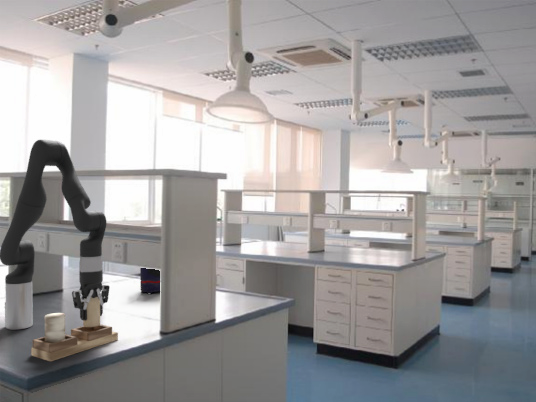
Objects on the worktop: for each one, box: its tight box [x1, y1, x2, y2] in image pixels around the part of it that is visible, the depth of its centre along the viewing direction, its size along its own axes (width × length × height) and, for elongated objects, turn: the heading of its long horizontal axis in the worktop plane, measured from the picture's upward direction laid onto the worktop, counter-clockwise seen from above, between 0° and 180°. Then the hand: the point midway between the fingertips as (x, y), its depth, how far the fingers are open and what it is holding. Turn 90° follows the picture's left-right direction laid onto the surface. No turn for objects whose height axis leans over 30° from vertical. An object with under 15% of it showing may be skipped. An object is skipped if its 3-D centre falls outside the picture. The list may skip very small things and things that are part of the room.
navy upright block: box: [139, 268, 161, 294], centre depth 254 cm, size 14×12×30 cm
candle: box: [82, 297, 101, 327], centre depth 169 cm, size 6×6×10 cm
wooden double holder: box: [31, 312, 119, 362], centre depth 164 cm, size 10×26×12 cm, turn 148°
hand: (91, 317), depth 169 cm, fingers closed on candle, 5 cm apart
